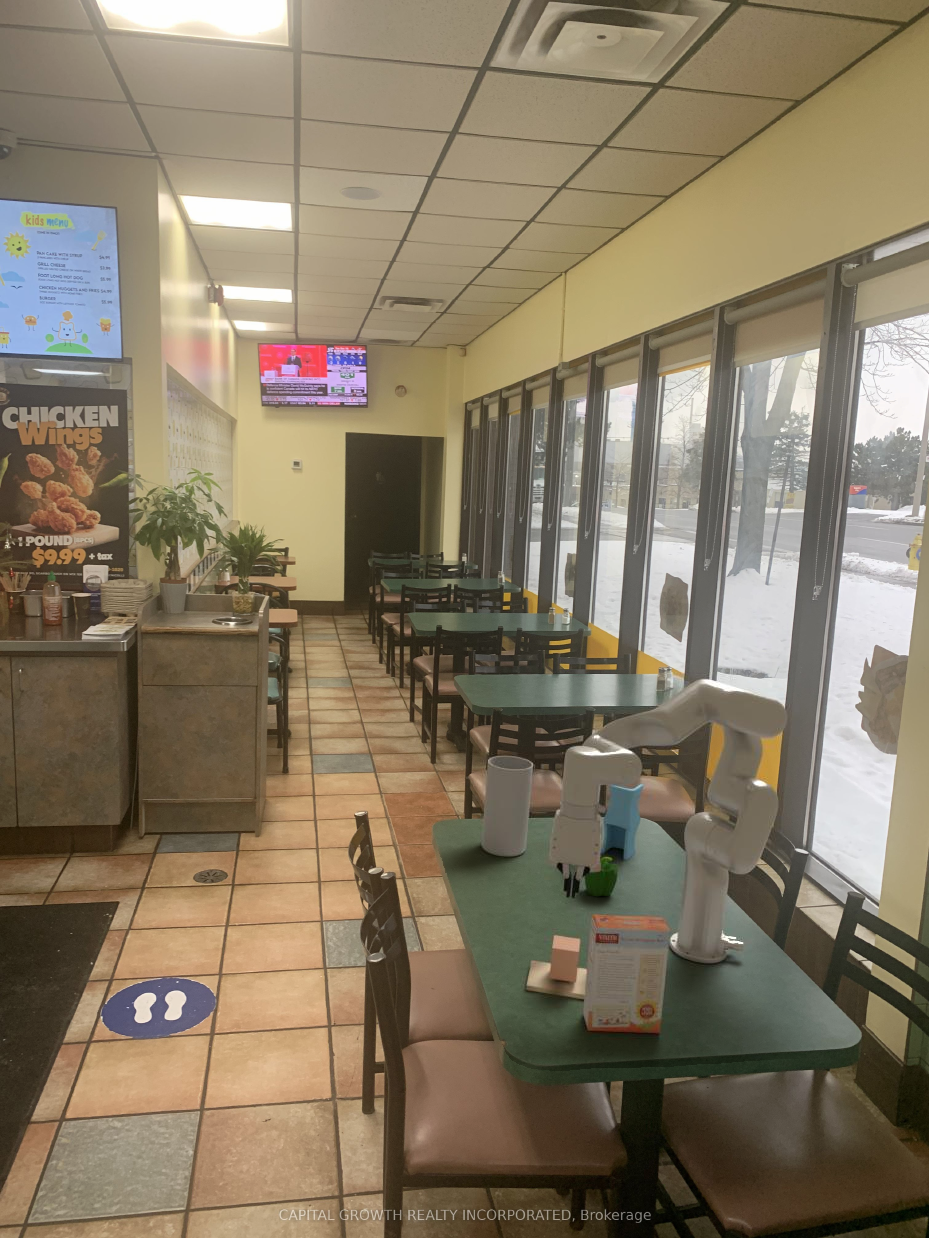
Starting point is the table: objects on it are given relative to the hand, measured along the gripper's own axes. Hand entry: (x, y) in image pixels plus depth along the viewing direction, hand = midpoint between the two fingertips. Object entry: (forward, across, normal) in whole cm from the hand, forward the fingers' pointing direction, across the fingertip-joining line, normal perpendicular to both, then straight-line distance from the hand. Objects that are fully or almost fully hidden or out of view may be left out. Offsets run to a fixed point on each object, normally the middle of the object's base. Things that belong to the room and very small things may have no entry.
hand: (570, 894), depth 181 cm
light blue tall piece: (+19, -11, -74) cm, 77 cm away
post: (+19, 0, 0) cm, 19 cm away
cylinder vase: (+19, +21, -65) cm, 71 cm away
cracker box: (+19, -12, +11) cm, 25 cm away
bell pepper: (+19, -6, -45) cm, 49 cm away
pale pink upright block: (+17, 0, 0) cm, 17 cm away
